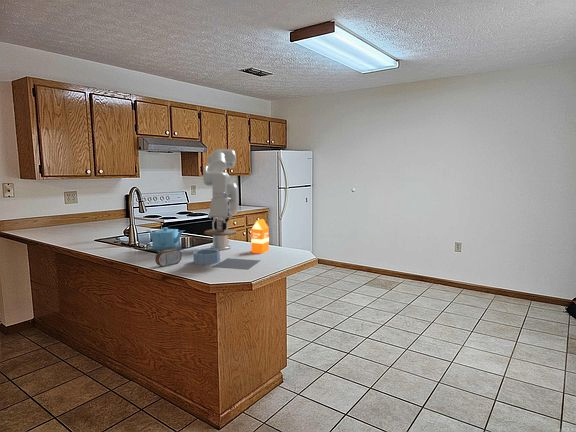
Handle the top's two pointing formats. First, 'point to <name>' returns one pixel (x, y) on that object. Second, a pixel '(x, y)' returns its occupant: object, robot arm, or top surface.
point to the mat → (237, 263)
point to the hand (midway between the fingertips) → (220, 229)
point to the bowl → (206, 256)
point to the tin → (168, 257)
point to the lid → (220, 230)
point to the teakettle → (165, 238)
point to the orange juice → (260, 237)
